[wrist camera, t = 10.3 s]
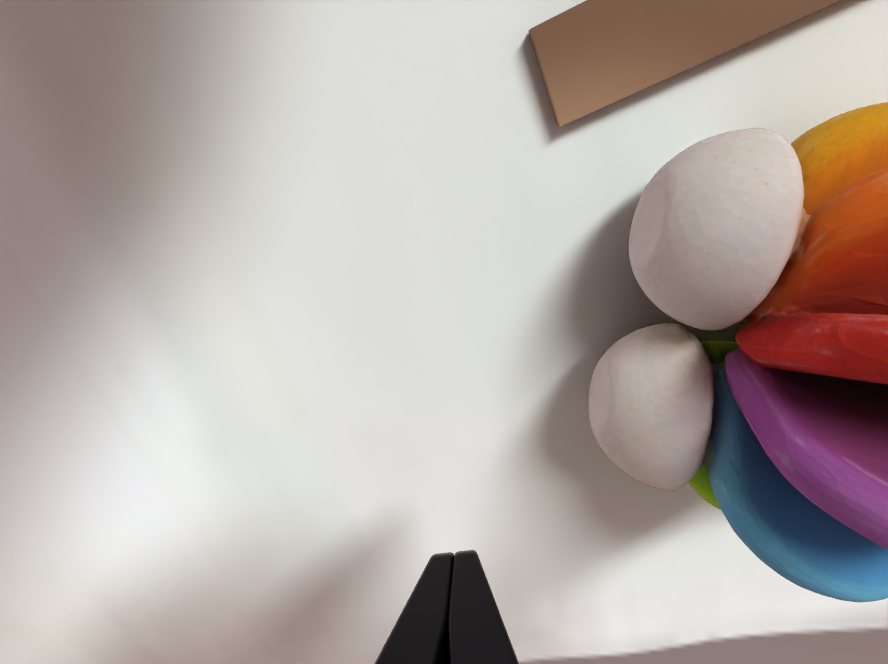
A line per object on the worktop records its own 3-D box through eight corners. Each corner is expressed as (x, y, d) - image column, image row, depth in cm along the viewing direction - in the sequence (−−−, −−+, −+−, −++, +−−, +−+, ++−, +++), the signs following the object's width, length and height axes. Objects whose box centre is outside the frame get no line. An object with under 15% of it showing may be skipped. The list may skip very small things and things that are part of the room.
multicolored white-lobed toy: (1037, 120, 10) (2013, 158, 4) (834, 462, 15) (1126, 755, 8) (649, 81, 10) (948, 51, 4) (560, 433, 15) (631, 700, 8)
